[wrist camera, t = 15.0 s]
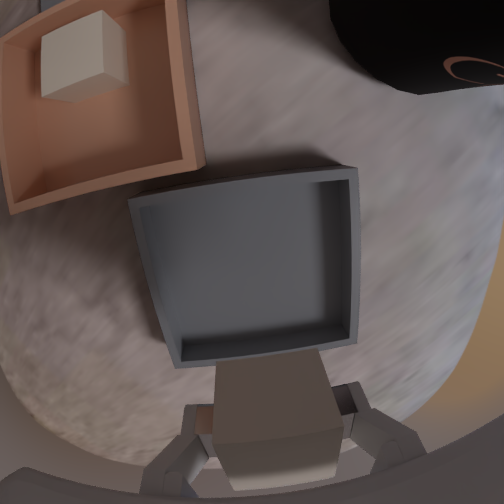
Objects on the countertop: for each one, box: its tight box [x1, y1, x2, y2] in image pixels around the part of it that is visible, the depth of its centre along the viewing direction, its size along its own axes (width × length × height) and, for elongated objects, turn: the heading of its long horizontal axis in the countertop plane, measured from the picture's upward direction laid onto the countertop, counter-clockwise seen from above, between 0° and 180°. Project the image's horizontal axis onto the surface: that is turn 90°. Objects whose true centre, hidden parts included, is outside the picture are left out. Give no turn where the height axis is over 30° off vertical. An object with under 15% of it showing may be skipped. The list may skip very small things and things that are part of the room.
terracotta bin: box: [0, 0, 207, 216], centre depth 14 cm, size 12×12×4 cm
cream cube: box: [41, 10, 130, 103], centre depth 13 cm, size 4×4×4 cm
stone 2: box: [212, 348, 344, 491], centre depth 10 cm, size 4×4×4 cm
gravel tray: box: [127, 165, 361, 369], centre depth 19 cm, size 12×13×2 cm
